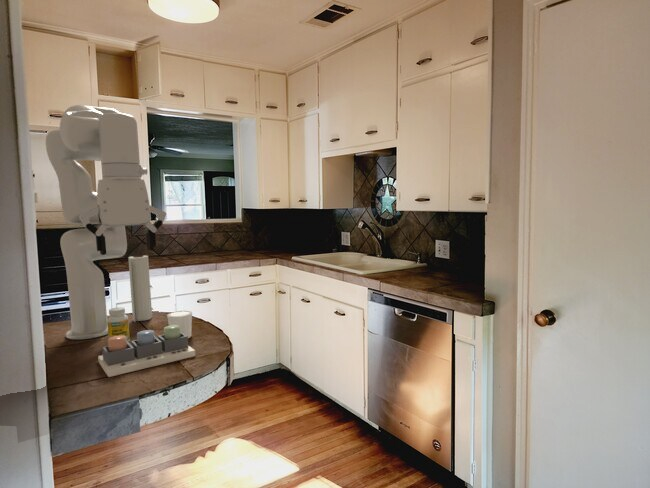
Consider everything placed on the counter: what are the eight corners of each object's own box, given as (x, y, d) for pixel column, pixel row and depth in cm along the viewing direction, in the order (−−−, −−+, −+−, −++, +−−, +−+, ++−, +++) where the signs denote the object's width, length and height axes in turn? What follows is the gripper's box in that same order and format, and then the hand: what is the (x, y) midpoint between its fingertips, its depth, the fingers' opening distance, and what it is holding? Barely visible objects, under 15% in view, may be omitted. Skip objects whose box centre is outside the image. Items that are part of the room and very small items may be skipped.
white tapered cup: (197, 333, 128) (195, 310, 127) (187, 341, 121) (186, 316, 120) (174, 333, 128) (173, 310, 128) (164, 340, 121) (162, 316, 121)
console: (98, 361, 106) (97, 344, 106) (179, 344, 118) (178, 328, 118) (108, 377, 97) (106, 357, 96) (195, 356, 109) (194, 338, 108)
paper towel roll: (146, 315, 149) (142, 254, 147) (155, 318, 145) (151, 255, 143) (126, 320, 143) (121, 257, 141) (134, 323, 140) (130, 258, 137)
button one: (107, 351, 104) (106, 337, 103) (125, 348, 106) (124, 334, 106) (110, 356, 100) (109, 341, 100) (129, 352, 103) (128, 338, 102)
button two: (136, 345, 108) (135, 332, 107) (152, 342, 110) (151, 329, 110) (140, 350, 104) (139, 336, 104) (157, 346, 107) (156, 332, 106)
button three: (162, 340, 111) (161, 327, 111) (178, 337, 114) (177, 324, 113) (167, 344, 108) (166, 330, 108) (183, 340, 111) (182, 327, 110)
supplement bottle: (128, 338, 125) (125, 305, 124) (131, 342, 120) (129, 309, 119) (107, 341, 122) (105, 308, 121) (110, 346, 117) (107, 312, 116)
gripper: (158, 175, 101) (163, 247, 102) (73, 174, 91) (80, 254, 92) (167, 172, 95) (172, 249, 96) (78, 171, 85) (85, 257, 86)
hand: (127, 252), depth 94 cm, fingers open, 9 cm apart
